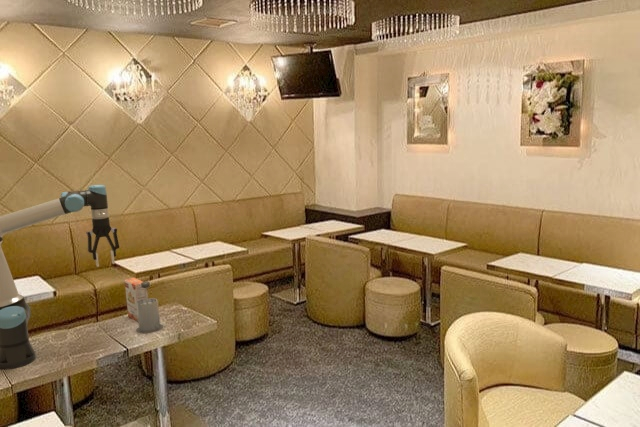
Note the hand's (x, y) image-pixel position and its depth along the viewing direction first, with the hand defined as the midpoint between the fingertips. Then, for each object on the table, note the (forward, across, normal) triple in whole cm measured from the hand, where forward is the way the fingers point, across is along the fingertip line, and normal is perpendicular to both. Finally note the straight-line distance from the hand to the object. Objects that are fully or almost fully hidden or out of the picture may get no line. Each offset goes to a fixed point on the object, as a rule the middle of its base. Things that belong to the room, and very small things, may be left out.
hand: (105, 264), depth 254 cm
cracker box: (+35, +16, +13) cm, 41 cm away
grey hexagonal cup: (+34, +16, -7) cm, 38 cm away
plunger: (+23, +16, -7) cm, 29 cm away
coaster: (+35, +16, -7) cm, 39 cm away
